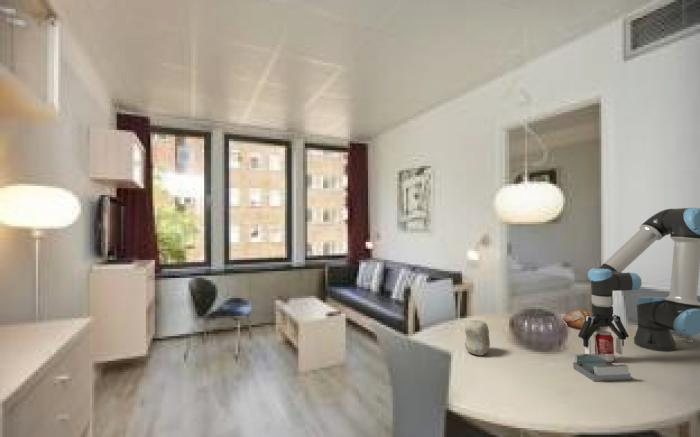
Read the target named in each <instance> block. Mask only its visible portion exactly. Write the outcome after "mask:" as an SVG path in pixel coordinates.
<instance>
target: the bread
mask: <svg viewBox="0 0 700 437" xmlns="http://www.w3.org/2000/svg"><path fill="white" fill-rule="evenodd" d="M585 316H589V317H592V316H593V313H592V312H590V311H587V310H582V309H575V310H574V309H573V310H569V311H568V312H567V313H566V314H565V315H563V317H562V319H563V320H564V321H565V322H566V323H567V325H568V326H567V327H569V328H572V329H576V330H581V328H582V326H583V324H584V321H585ZM592 322H593V320H592ZM592 322H591V324H592ZM595 325H596V324H595ZM590 326H591V325H590ZM600 328H601V327H599V328H597V330H600ZM597 330H596V331H597Z"/></svg>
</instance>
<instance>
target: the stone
mask: <svg viewBox="0 0 700 437" xmlns="http://www.w3.org/2000/svg"><path fill="white" fill-rule="evenodd" d="M464 326H465V327H464V333H465V337H466V338H465V341H464V346H465V350H466V351H467V352H469V353H470V354H472V355H477V356H484V355H486V354H487V353H488V351H489V349H490V347H491V343H490V342H491V341H490V330H489V326H488V324H487V322H485V321H483V320H477V319H475V320H474V319H472V320H469V321H466V322H465V325H464Z"/></svg>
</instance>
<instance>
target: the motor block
mask: <svg viewBox="0 0 700 437" xmlns="http://www.w3.org/2000/svg"><path fill="white" fill-rule="evenodd" d="M572 364H573V369H574V370H575V371H577V372H579V373H580V374H581V375H583V376H584V377H586V378H587V379H589V380H591V381H592V382H613V381H614V382H615V381H616V382H617V381H619V380H620V381H631V372H629V365H627V364H613V363H612V362H608V361H606V354H604V353H598V354H595V353H591V354H586V353H580V354H579V353H578V354H576V353H575V354H574V362H573V363H572Z"/></svg>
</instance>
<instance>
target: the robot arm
mask: <svg viewBox="0 0 700 437" xmlns="http://www.w3.org/2000/svg"><path fill="white" fill-rule="evenodd" d="M668 235H670V237H669V238H670V239H671V240H672V241H673V242H674V243H673V255H672V264H671V265H672V267H671V278H670V287H669V288H670V289H669V294H668V295H667V296H655V295H654V296H653V295H652V296H651V295H650V296H649V295H648V296H647V295H646V296H645V295H644V296H639V297H637V299H636V314H637V316H636V317H637V329H636V331H635V334H634V337H633V343H634V344H635V345H636V346H638V347H640V348H644V349H648V350H652V351H653V350H654V351H660V352H661V351H662V352H671V351H672V352H673V351H675V350H677V343H676V342H675V340H674V337H673V334H672V332H671V331H674V332H676V333H678V334H684V335H687V336H695V335H699V334H700V302H699V301H698V290H699V289H698V288H699V280H700V279H699V277H700V207H684V208H683V207H681V208H668V209H666V208H665V209H662V210H661V211H658V212H657V213H655V214H653V215H652V216H650V217H649V218H648V219H647V220H645V221H644V222H643V223H641V225H640V226H639V230H638V231H637V232H635V234H634V235H633V236H632V237H630V238H629V239H628V240H627V241H626V242H625V243H624V244H622V246H621V247H619V248H618V249H617V250H616V251H615V252H614V253H613V254H612V255H611V256H610V257H609V258H608V259H607V260H606V261H605V262H603V264H602V265H600V266H599V267H593V268H591V269H589V270H588V272H587V278H588V280H589V281H590V292H591V293H590V294H591V295H590V296H591V303H592V304H591V314H592V315H593V316H592V317H589V316H585V321H584V324H583V326H582V328H581V329H579V330H580V331H579V332H578V334H577V336H578V337H579V338H580V339H582V340H583V342H582V343H583V347H584V354H592V340H591V337H592V336H593V335H594V334H595V333H596V331H597V328H599V327H600V328H608V327H609V329H611V331H612V332H613V333H614V334H615V336H616V337H615V351H616V354H619V355H621V356H622V355H623V349H624V345H625V340H627V338H629V336H630V335H629V334H628V331H627V330H626V328H625V327H624V326H625V325H624V324H623V323H622V320H621V316H619V315H617V314H614V307H613V305H614V300H613V299H614V298H613V294H614V293H613V292H616V291H617V292H618V291H620V292H621V291H623V292H624V291H629V292H632V291H637V290H640V288H641V287H642V284H643V282H642V279H641V277H640V275H638V273H636V272H623V271H625V269H626V268H628V267H629V266H630V265H631V264H632V263H633V262H634V261H635V260H637V258H639V256H640V255H642V254H643V253H644V252H645V251H646V250H647V249H648V248H649V247H651V245H653V244H654V243H655V242H656V241H660V240H662V239H663V238H664V237H666V236H668ZM592 320H593V322H592ZM613 321H614V323H613ZM591 322H592V324H591ZM595 324H596V325H595ZM590 325H591V326H590ZM615 325H616V326H615ZM600 328H599V329H600Z"/></svg>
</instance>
